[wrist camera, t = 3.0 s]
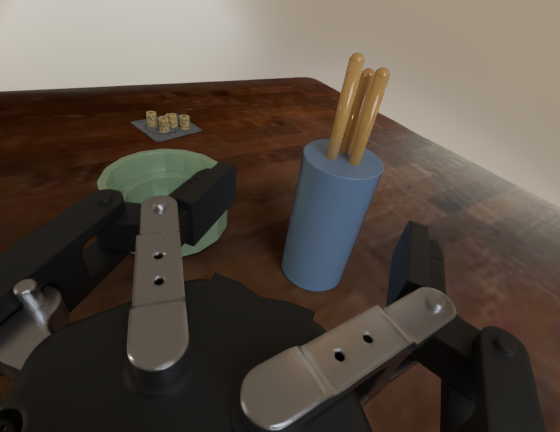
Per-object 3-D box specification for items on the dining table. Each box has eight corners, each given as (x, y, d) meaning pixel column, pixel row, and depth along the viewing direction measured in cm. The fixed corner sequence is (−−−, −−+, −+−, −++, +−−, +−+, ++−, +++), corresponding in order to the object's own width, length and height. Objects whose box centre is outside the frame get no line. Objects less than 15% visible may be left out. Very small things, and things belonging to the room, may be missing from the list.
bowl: (102, 202, 34) (90, 156, 31) (205, 184, 39) (205, 143, 36) (120, 278, 27) (107, 230, 23) (243, 244, 32) (247, 200, 29)
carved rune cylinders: (191, 128, 51) (191, 117, 50) (162, 135, 48) (161, 123, 46) (174, 117, 53) (173, 106, 52) (145, 123, 50) (143, 111, 49)
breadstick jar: (270, 254, 31) (305, 40, 20) (319, 239, 34) (375, 43, 22) (302, 300, 28) (370, 69, 16) (354, 279, 30) (445, 69, 19)
